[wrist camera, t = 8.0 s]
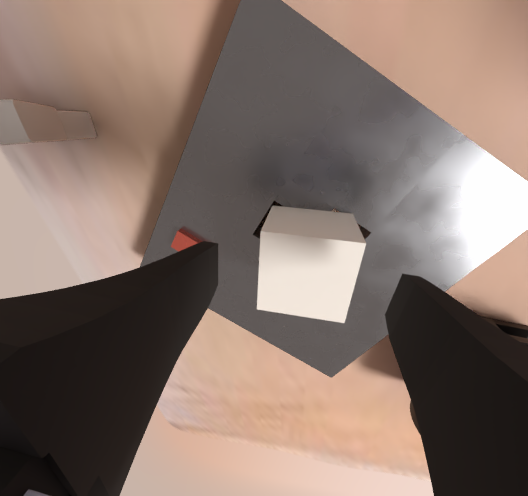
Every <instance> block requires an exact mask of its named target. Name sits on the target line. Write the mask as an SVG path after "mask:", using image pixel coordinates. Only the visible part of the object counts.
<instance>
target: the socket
mask: <svg viewBox="0 0 528 496" xmlns="http://www.w3.org/2000/svg"><path fill="white" fill-rule="evenodd" d="M274 201H276V202H277V203H279V204H281V205H282V206H284V207H293V208H303V209H312V210H322V211H332V210H333V209H334V208H335V209H336V210H338V211H339V212H342V213H351V214H353V215H354V217H355V220H356V222H357V223H358V224H359V225H361V227H360V231H361V233H362V235H363V237H364V239H365V242H366V246H365V250H364V254H363V257H362V261H361V265H360V268H359V272H358V275H357V279H356V283H355V286H354V290H353V294H352V297H351V301H350V305H349V308H348V312H347V316H346V319H345V323H340V322H333V321H327V320H321V319H314V318H308V317H302V316H296V315H289V314H283V313H277V312H270V311H264V310H258V309H257V295H258V274H259V254H260V233H261V229H262V227H261V226H260V225H259V224H260V222H261V220H262V219H263V217H264V216H265V214H266V213H267V211H268V209H269V208H270V206H271V205H272V203H273V202H274ZM526 229H528V182H527V181H526V180H524V179H523V178H522V177H520V176H519V175H518V174H516V173H515V172H514V171H512V170H511V169H509V168H508V167H507V166H505V165H504V164H503V163H501V162H500V161H499V160H497V159H496V158H495V157H493V156H492V155H490V154H489V153H488V152H486V151H485V150H484V149H482V148H481V147H480V146H478V145H477V144H476V143H474V142H473V141H471V140H470V139H469V138H467V137H466V136H465V135H463V134H462V133H461V132H459V131H458V130H457V129H455V128H454V127H452V126H451V125H450V124H448V123H447V122H446V121H444V120H443V119H442V118H440V117H439V116H438V115H436V114H435V113H433V112H432V111H431V110H429V109H428V108H427V107H425V106H424V105H423V104H421V103H420V102H419V101H417V100H416V99H414V98H413V97H412V96H410V95H409V94H408V93H406V92H405V91H404V90H402V89H401V88H399V87H398V86H397V85H395V84H394V83H393V82H391V81H390V80H389V79H387V78H386V77H385V76H383V75H382V74H380V73H379V72H378V71H376V70H375V69H374V68H372V67H371V66H370V65H368V64H367V63H366V62H364V61H363V60H361V59H360V58H359V57H357V56H356V55H355V54H353V53H352V52H351V51H349V50H348V49H347V48H345V47H344V46H342V45H341V44H340V43H338V42H337V41H336V40H334V39H333V38H332V37H330V36H329V35H328V34H326V33H325V32H323V31H322V30H321V29H319V28H318V27H317V26H315V25H314V24H313V23H311V22H310V21H309V20H307V19H306V18H304V17H303V16H302V15H300V14H299V13H298V12H296V11H295V10H294V9H292V8H291V7H290V6H288V5H287V4H285V3H284V2H283V1H281V0H241V1H240V3H239V6H238V9H237V11H236V14H235V16H234V19H233V22H232V24H231V27H230V30H229V32H228V35H227V38H226V40H225V43H224V46H223V48H222V51H221V54H220V56H219V59H218V61H217V64H216V67H215V69H214V72H213V75H212V77H211V80H210V83H209V85H208V88H207V91H206V93H205V96H204V99H203V101H202V104H201V106H200V109H199V112H198V114H197V117H196V120H195V122H194V125H193V128H192V130H191V133H190V136H189V138H188V141H187V144H186V146H185V149H184V151H183V154H182V157H181V159H180V162H179V165H178V167H177V170H176V173H175V175H174V178H173V181H172V183H171V186H170V189H169V191H168V194H167V197H166V199H165V202H164V204H163V207H162V210H161V212H160V215H159V218H158V220H157V223H156V226H155V228H154V231H153V234H152V236H151V239H150V242H149V244H148V247H147V249H146V252H145V255H144V257H143V260H142V263H141V265H140V267H142V266H145V265H147V264H150V263H152V262H155V261H157V260H160V259H163V258H165V257H167V256H170V255H172V254H174V253H176V252H179V251H181V250H183V249H186V248H188V247H190V246H192V245H195V244H197V243H200V242H203V241H206V242H212V243H218V286H217V289H216V291H215V294H214V296H213V298H212V300H211V303H210V305H209V307H208V308H209V309H211V310H212V311H214V312H216V313H218V314H219V315H221V316H223V317H225V318H226V319H228V320H230V321H232V322H234V323H235V324H237V325H239V326H241V327H242V328H244V329H246V330H248V331H249V332H251V333H253V334H255V335H257V336H258V337H260V338H262V339H264V340H265V341H267V342H269V343H271V344H272V345H274V346H276V347H278V348H280V349H281V350H283V351H285V352H287V353H288V354H290V355H292V356H294V357H296V358H297V359H299V360H301V361H303V362H304V363H306V364H308V365H310V366H311V367H313V368H315V369H317V370H319V371H320V372H322V373H324V374H326V375H327V376H329V377H331V378H332V377H333V376H334V375H336V374H337V373H338V372H340V371H341V370H342V369H344V368H345V367H346V366H347V365H349V364H350V363H351V362H353V361H354V360H355V359H357V358H358V357H359V356H361V355H362V354H363V353H365V352H366V351H367V350H369V349H370V348H371V347H372V346H374V345H375V344H376V343H378V342H379V341H380V340H382V339H383V338H384V337H386V336H387V335H388V329H387V324H386V318H385V313H386V311H387V308H388V306H389V304H390V301H391V299H392V297H393V294H394V292H395V290H396V287H397V285H398V283H399V280H400V278H401V276H402V273H403V274H409V275H415V276H420V277H422V278H424V279H426V280H427V281H429V282H430V283H432V284H434V285H435V286H437V287H438V288H440V289H441V290H443V291H444V292H445V291H446V290H447V289H449V288H450V287H451V286H453V285H454V284H455V283H457V282H458V281H459V280H461V279H462V278H463V277H465V276H466V275H467V274H469V273H470V272H471V271H472V270H474V269H475V268H476V267H478V266H479V265H480V264H482V263H483V262H484V261H486V260H487V259H488V258H490V257H491V256H492V255H494V254H495V253H496V252H498V251H499V250H500V249H501V248H503V247H504V246H505V245H507V244H508V243H509V242H511V241H512V240H513V239H515V238H516V237H517V236H519V235H520V234H521V233H523V232H524V231H525V230H526Z"/></svg>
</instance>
